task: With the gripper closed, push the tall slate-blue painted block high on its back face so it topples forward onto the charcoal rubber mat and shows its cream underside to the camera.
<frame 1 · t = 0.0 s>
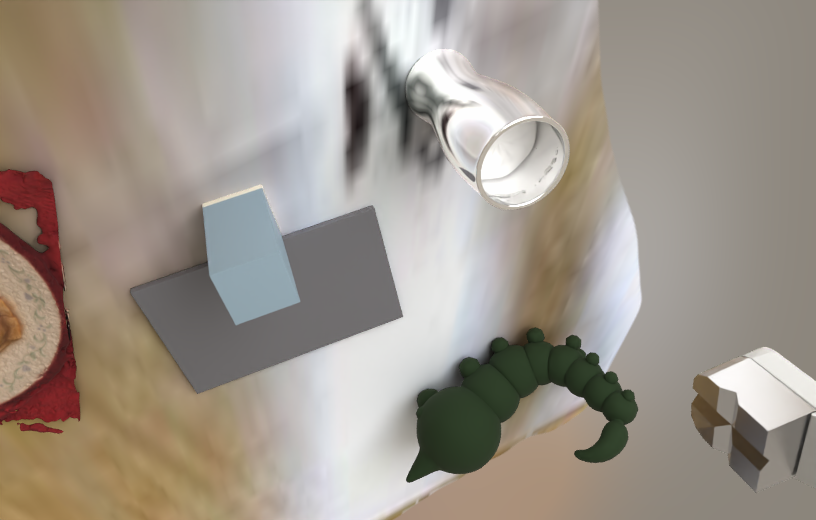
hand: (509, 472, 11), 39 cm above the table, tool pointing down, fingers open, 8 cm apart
charcoal mat: (280, 302, 56), on the table
toy figurine: (474, 366, 71), on the table
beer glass: (438, 84, 49), on the table
slate block: (242, 218, 50), on the table
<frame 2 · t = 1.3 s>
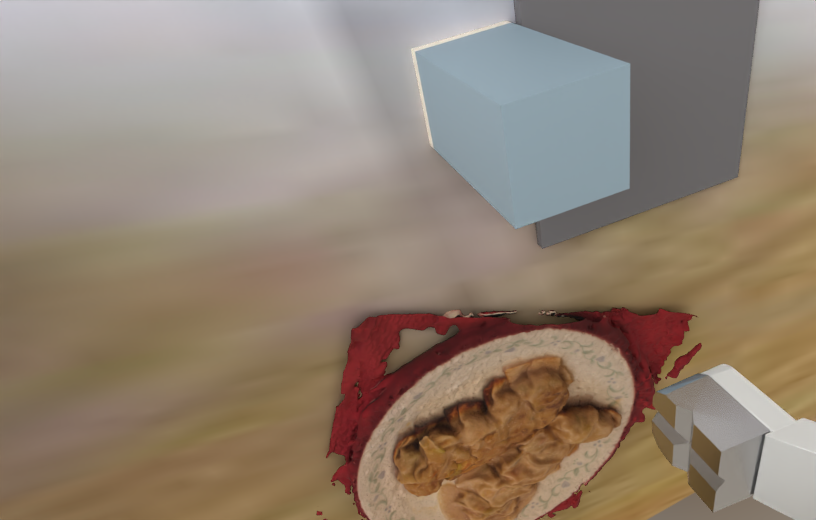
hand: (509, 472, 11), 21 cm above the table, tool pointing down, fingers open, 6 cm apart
plate with food: (489, 431, 45), on the table
charcoal mat: (639, 30, 31), on the table
slate block: (466, 84, 30), on the table
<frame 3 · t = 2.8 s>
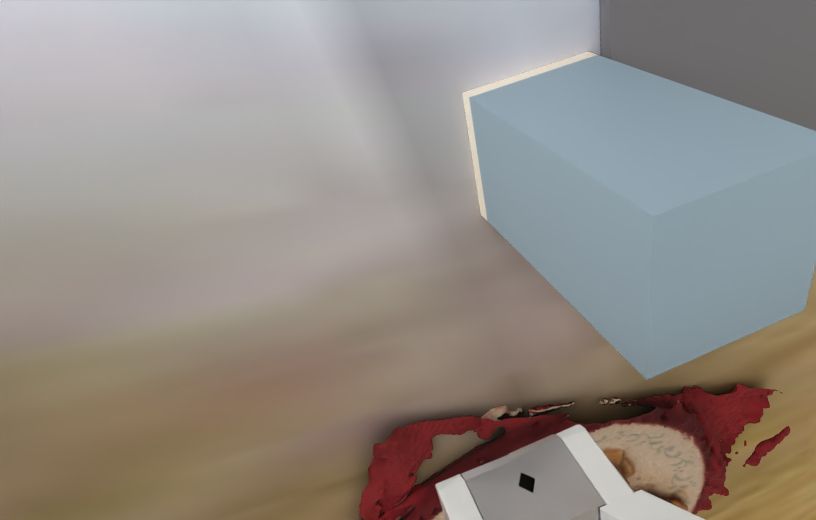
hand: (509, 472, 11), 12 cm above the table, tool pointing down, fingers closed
charcoal mat: (752, 59, 24), on the table
slate block: (531, 136, 22), on the table
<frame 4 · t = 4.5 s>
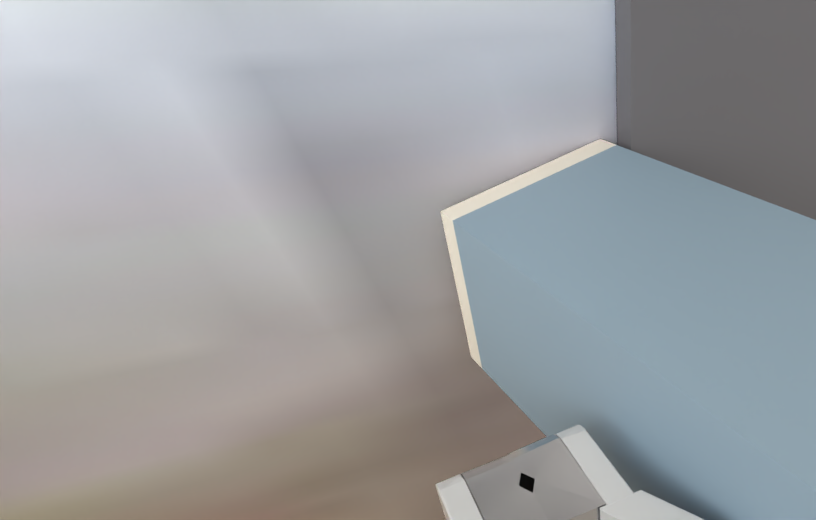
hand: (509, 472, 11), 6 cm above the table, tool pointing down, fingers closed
slate block: (532, 252, 16), on the table, tilted 9°, touching gripper
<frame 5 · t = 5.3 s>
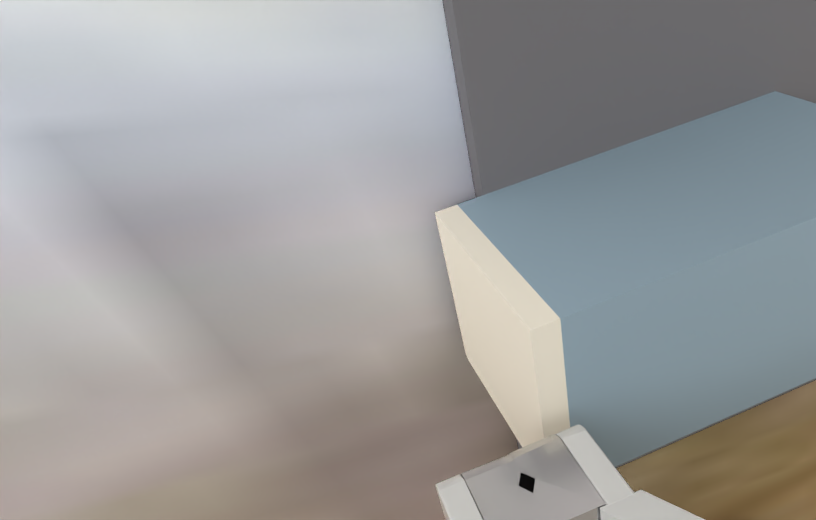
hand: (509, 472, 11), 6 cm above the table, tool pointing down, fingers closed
charcoal mat: (700, 183, 18), on the table
slate block: (490, 346, 14), point 3 cm above the table, tilted 90°, touching charcoal mat
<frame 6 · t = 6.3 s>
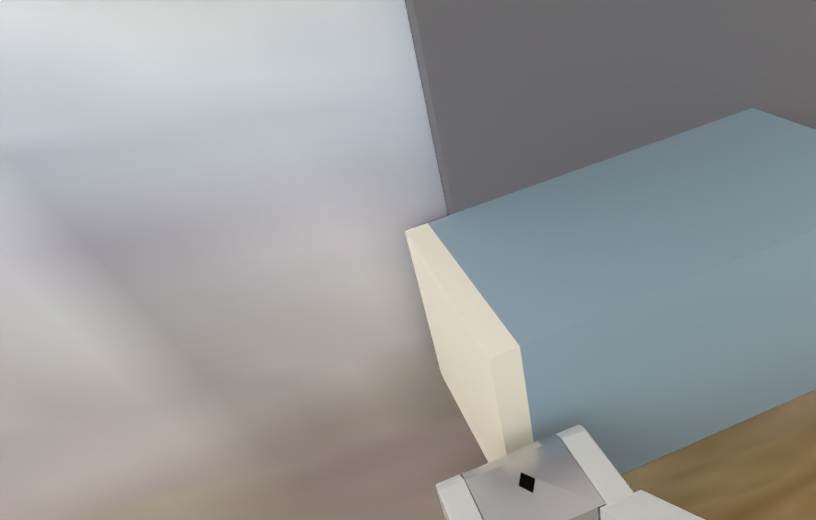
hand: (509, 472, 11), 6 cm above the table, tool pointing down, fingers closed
charcoal mat: (678, 199, 17), on the table
slate block: (459, 368, 14), point 3 cm above the table, tilted 90°, touching charcoal mat
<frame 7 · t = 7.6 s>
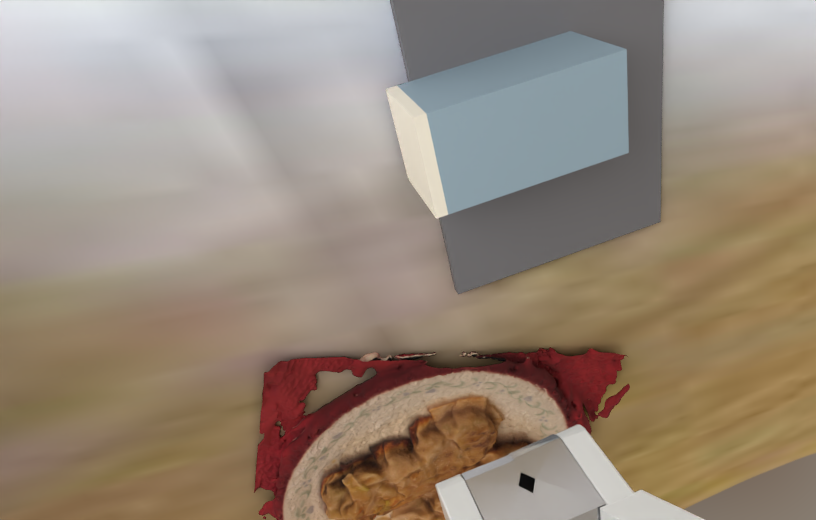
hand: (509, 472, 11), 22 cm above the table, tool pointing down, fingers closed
plate with food: (425, 466, 46), on the table
charcoal mat: (539, 85, 32), on the table
slate block: (410, 152, 28), point 3 cm above the table, tilted 90°, touching charcoal mat
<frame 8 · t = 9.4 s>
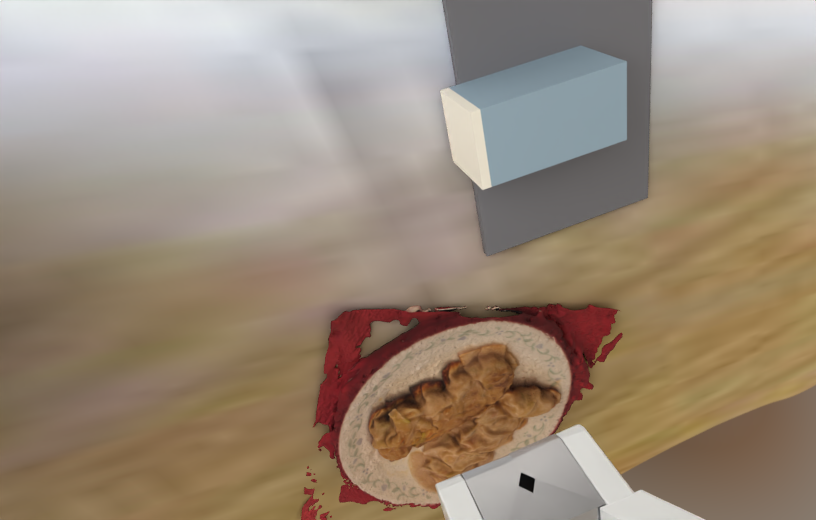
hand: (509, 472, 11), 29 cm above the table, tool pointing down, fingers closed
plate with food: (451, 407, 54), on the table
charcoal mat: (555, 87, 40), on the table
slate block: (460, 139, 37), point 3 cm above the table, tilted 90°, touching charcoal mat
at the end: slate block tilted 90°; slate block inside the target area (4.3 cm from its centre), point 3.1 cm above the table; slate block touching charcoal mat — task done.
